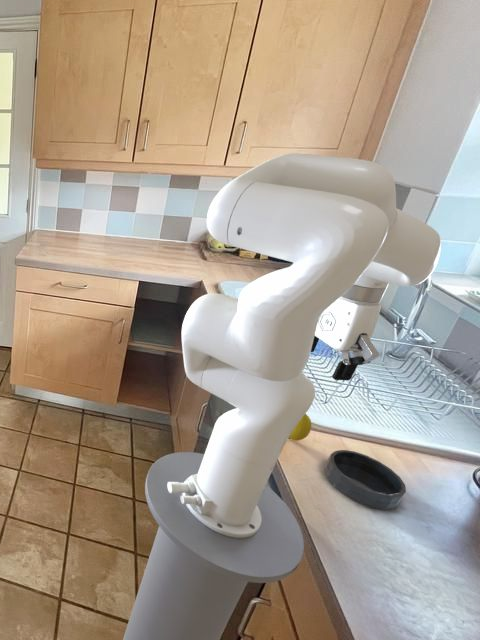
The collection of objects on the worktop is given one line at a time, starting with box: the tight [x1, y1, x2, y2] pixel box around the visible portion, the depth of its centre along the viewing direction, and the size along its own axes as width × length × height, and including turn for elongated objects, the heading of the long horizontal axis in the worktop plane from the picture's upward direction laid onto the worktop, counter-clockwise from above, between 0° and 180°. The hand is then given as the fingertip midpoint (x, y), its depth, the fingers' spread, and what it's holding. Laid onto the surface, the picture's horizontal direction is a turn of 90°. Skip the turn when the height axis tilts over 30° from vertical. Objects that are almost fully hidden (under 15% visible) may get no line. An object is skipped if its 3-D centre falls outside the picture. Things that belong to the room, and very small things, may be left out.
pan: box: [323, 449, 407, 511], centre depth 82 cm, size 11×11×4 cm
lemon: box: [287, 413, 312, 441], centre depth 92 cm, size 6×6×8 cm
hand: (321, 364), depth 85 cm, fingers open, 9 cm apart
